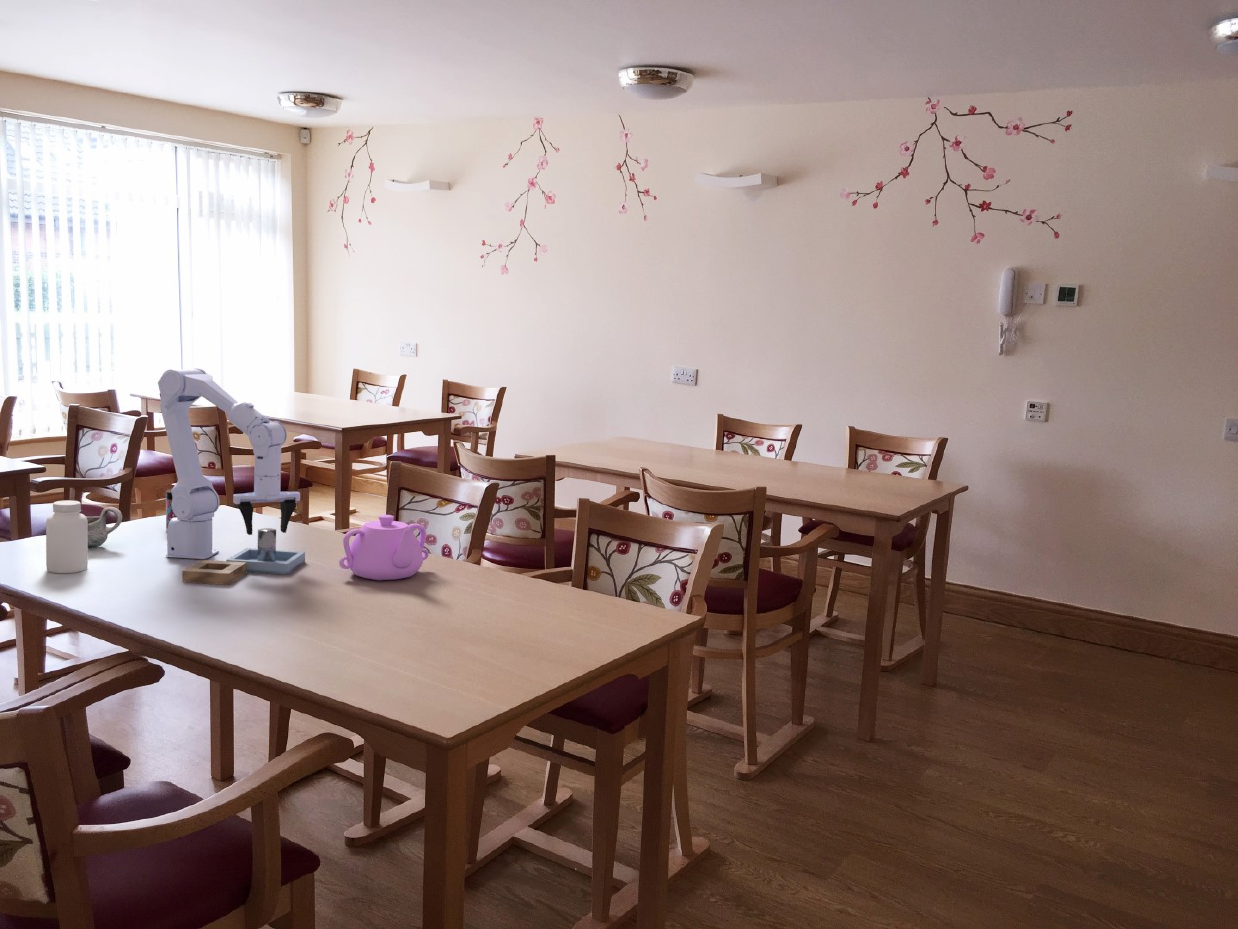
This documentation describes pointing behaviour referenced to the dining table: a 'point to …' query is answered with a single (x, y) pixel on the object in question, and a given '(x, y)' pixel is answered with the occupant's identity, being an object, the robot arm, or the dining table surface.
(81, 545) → the pill bottle
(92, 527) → the mug
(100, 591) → the dining table surface
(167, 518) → the supplement container
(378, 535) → the pink lidded pot
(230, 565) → the socket block
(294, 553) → the tray
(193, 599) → the dining table surface
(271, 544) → the pin
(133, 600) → the dining table surface
